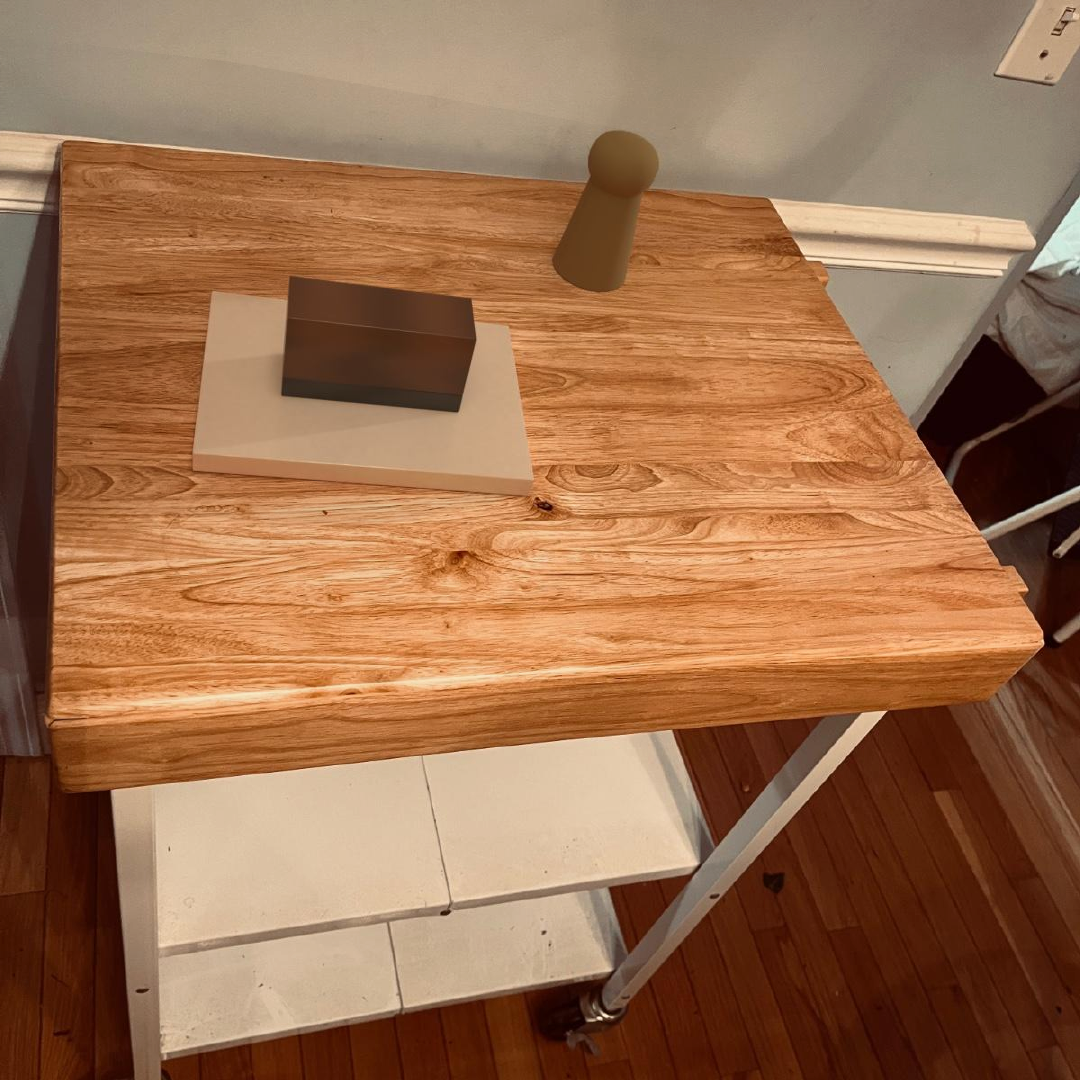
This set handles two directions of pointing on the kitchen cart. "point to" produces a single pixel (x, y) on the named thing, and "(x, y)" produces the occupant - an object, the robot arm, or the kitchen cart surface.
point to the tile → (352, 416)
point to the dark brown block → (376, 345)
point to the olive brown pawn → (607, 212)
